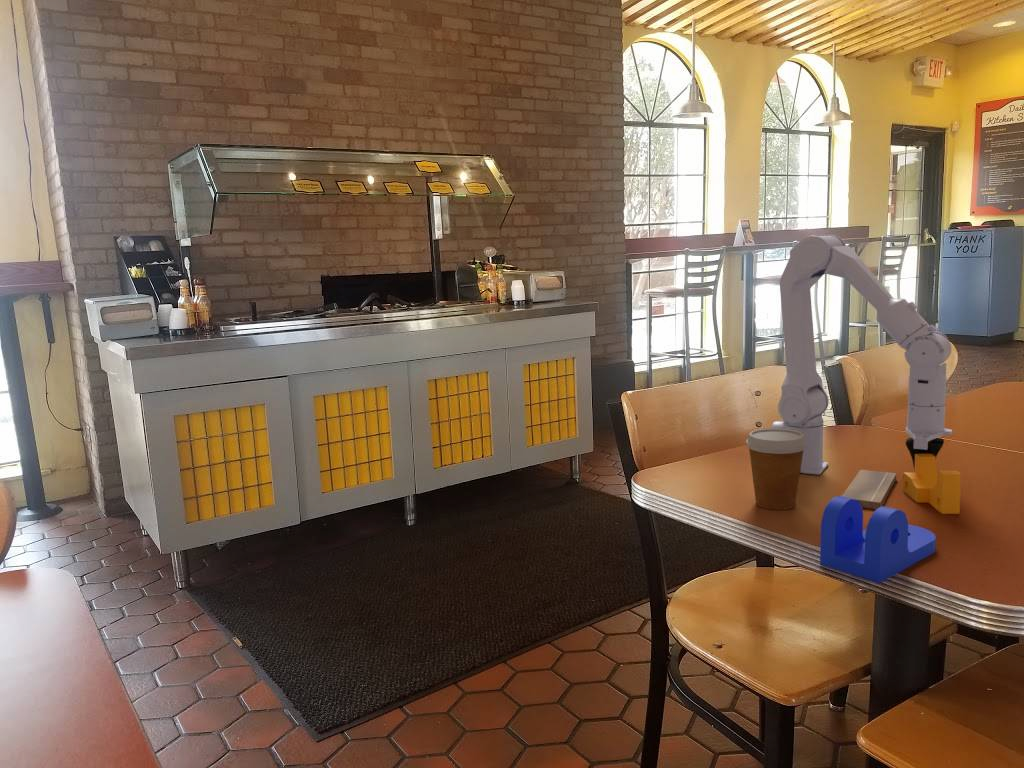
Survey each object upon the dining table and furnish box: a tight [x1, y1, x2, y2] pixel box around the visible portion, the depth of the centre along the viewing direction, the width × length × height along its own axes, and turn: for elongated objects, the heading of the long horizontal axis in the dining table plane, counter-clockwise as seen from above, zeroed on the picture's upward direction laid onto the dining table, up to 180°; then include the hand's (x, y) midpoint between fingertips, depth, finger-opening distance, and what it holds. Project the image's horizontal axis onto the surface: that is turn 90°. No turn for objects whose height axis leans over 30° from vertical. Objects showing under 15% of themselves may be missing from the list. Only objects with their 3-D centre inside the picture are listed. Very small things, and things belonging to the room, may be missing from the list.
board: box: [841, 469, 897, 510], centre depth 136 cm, size 6×18×1 cm, turn 147°
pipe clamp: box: [902, 454, 962, 515], centre depth 129 cm, size 12×4×6 cm, turn 173°
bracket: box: [819, 495, 937, 584], centre depth 108 cm, size 18×8×9 cm, turn 127°
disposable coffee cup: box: [745, 428, 807, 511], centre depth 131 cm, size 10×10×12 cm
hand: (923, 479), depth 137 cm, fingers closed
